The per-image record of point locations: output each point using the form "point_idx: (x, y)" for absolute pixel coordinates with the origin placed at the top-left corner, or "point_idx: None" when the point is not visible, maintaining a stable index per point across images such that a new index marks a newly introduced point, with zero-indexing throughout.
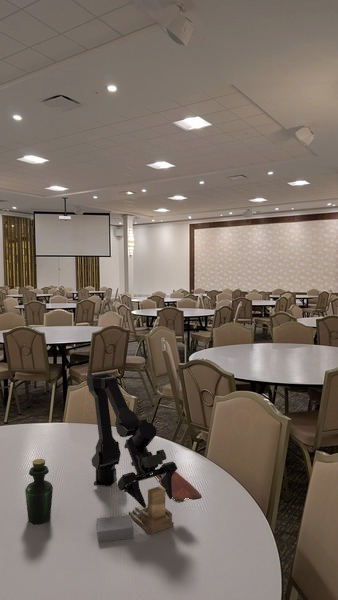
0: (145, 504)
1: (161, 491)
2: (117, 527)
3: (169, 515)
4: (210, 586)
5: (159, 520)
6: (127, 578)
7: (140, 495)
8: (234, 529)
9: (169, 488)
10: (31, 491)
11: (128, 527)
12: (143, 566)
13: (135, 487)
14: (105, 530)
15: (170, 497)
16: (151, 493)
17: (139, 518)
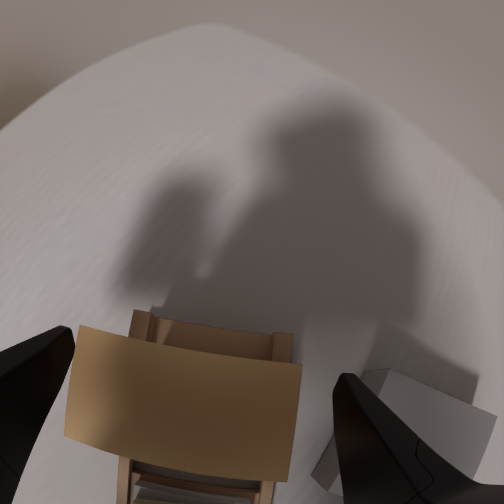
0: (349, 380)
1: (146, 341)
2: (441, 411)
3: (152, 318)
4: (296, 68)
5: (227, 336)
6: (456, 201)
7: (406, 436)
8: (37, 154)
9: (15, 361)
10: None
11: (407, 383)
12: (409, 204)
13: (481, 490)
14: (480, 411)
15: (68, 339)
16: (297, 386)
17: (241, 490)
